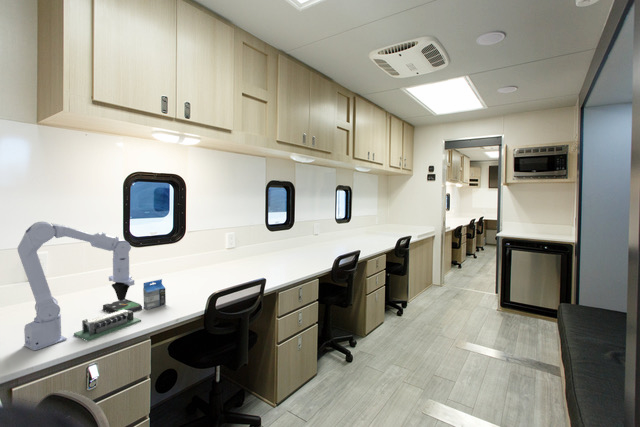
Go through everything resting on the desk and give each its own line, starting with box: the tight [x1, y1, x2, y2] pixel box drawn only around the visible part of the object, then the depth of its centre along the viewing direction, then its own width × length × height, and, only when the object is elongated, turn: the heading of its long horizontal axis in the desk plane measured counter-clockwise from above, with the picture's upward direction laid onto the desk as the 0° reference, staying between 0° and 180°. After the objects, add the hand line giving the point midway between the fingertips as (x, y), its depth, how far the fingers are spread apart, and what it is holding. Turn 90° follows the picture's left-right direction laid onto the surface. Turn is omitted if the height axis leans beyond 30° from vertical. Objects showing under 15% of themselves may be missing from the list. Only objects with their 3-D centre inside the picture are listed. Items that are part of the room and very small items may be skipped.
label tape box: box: [142, 278, 167, 310], centre depth 145 cm, size 9×4×12 cm, turn 143°
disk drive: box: [102, 298, 143, 314], centre depth 140 cm, size 10×3×15 cm
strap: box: [84, 309, 128, 325], centre depth 120 cm, size 15×3×2 cm, turn 154°
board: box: [73, 310, 142, 342], centre depth 121 cm, size 20×10×4 cm, turn 154°
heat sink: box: [81, 314, 127, 336], centre depth 119 cm, size 13×7×5 cm, turn 154°
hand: (121, 299), depth 125 cm, fingers closed
